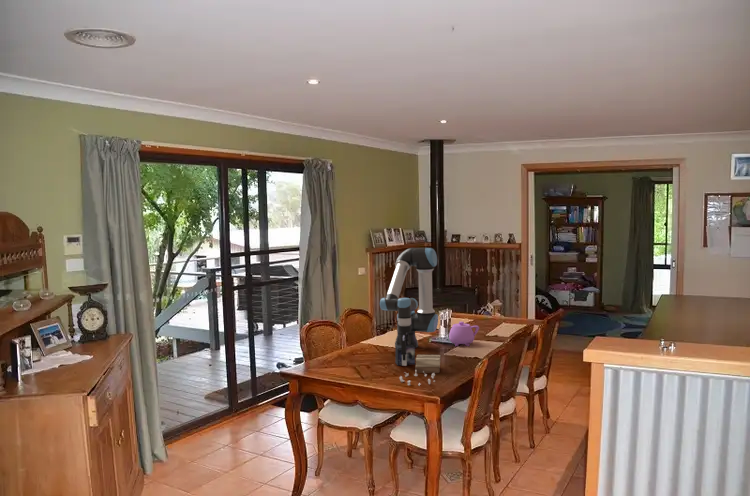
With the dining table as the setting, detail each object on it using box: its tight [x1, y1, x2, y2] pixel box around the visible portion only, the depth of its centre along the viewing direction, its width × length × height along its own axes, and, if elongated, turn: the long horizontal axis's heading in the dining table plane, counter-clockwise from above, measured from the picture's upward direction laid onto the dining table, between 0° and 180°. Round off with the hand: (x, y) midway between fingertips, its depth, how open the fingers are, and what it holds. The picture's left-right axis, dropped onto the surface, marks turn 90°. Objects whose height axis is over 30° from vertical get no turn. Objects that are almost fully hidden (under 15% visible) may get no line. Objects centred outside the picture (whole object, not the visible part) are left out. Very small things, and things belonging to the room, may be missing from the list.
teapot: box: [448, 321, 480, 347], centre depth 383 cm, size 20×20×15 cm
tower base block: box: [414, 365, 441, 374], centre depth 323 cm, size 10×13×4 cm
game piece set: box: [399, 369, 436, 387], centre depth 304 cm, size 19×20×4 cm
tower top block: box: [415, 354, 441, 368], centre depth 322 cm, size 10×13×4 cm
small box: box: [394, 345, 416, 367], centre depth 336 cm, size 11×6×10 cm, turn 101°
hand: (405, 363), depth 337 cm, fingers open, 8 cm apart
